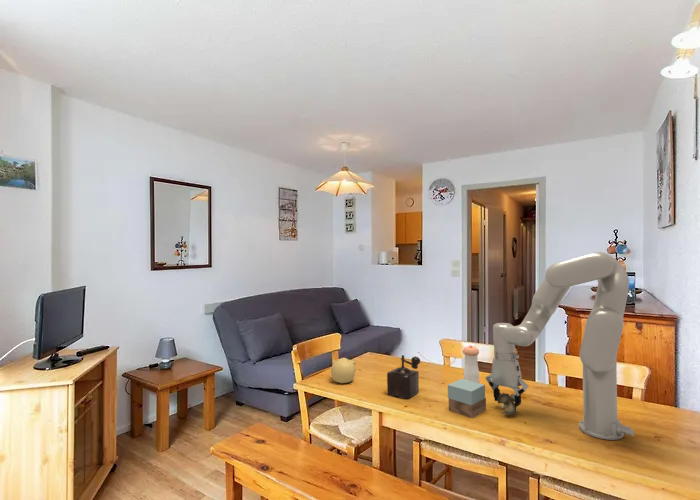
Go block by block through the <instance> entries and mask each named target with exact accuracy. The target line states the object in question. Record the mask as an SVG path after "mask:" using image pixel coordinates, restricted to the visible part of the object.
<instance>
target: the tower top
mask: <svg viewBox="0 0 700 500" xmlns="http://www.w3.org/2000/svg"><path fill="white" fill-rule="evenodd" d="M449 398H450V399H453V400H456V401H459V402H463V403H466V404H469V405H473V404H475V403H477V402H478V401H480V400H482V399H484V398H486V385H485V384H483V383H481V382H480V383H476V382H472V381H468V380H464V378H460V379H458V380H456V381H454V382H451V383H449V384H447V399H449Z"/></svg>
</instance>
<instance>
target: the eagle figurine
mask: <svg viewBox="0 0 700 500" xmlns="http://www.w3.org/2000/svg"><path fill="white" fill-rule="evenodd" d="M499 394H500V396H499V398H498V401H497V404H502V405H501V408H500V409H504V408H505V409H504V410H503V413H504V414H505V415H507V416H510V415H514V414H516V412H517V409H518V408H517V407H518V406H515V397H514V396H515V395H516V394H514V393H511V394H510V395H509V393H504V392H502V393H501V392H499Z"/></svg>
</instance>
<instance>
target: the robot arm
mask: <svg viewBox="0 0 700 500" xmlns="http://www.w3.org/2000/svg"><path fill="white" fill-rule="evenodd" d="M593 281H597V287H596V292H595V298H594V303H593V306H592V310H591V311H590V313H589V315H588V316H587V319H586V323H585V327H584V332H583V334H582V340H581V344H580V345H581V346H580V349H579V359H580V361H581V363H582V399H583V402H582V403H583V405H582V406H583V411H582V412H583V420H580V421H579V422H578V429H579V430H580V431H581V432H583V434H586V435H589V436H590V437H594V438H597V439H601V440H608V441H614V440H615V441H616V440H620V439H623V437H624V436H625V435H627V436H630V437H634V435H635V431H634V429H632V427H631V426H629V425H623V424H622V423H621V419H618V389H617V388H618V383H617V382H618V381H617V379H618V377H617V374H618V372H617V359H618V358H617V356H618V351H619V348H620V341H621V337H622V334H623V330H624V315H625V310H626V305H627V300H628V296H629V289H630V280H629V276H628V273H627V270H626V269H625V267H624V266H623V264H622V263H621V262H620V261H619V260H618V259H616V258H615V257H614V256H612V255H610V254H608V253H606V252H602V251H596V252H592V253H588V254H585V255H580V256H577V257H575V258H571V259H568V260H565V261H560V262H557V263H552V264H551V265H549V266H548V267H547V269H546V271H545V275H544V279H542V282H541V283H540V285H539V287H538V288H537V289H536V291H535V293H534V294H533V297H532V299H531V305H530V308H529V309H528V312H527V314H526V315H525V316H524V318H523V320H522V322H521V323H520V324H518V325H513V324H511V323H509V322H497V323H495V324H493V326H492V336H493V337H492V338H493V339H492V340H493V351H494V352H493V353H494V355H493V358H492V363H491V373H490V374H489V375H488V376H486V377H485V380H486V382H487V383H488V385H489V386H490V387H491V390H493V398H494V401H495V402H498V398H499V396H500V394H499V392H500V388H499V387H500V386H501V387H504V388H509V389H512V390H513V392H514V393H515V396H514V397H515V402H514V403H515V406H517V407H518V406H520V405H521V404H522V394H523V393H525V391H526V390H527V389H528V388H529V385H528V383H527V382H525V380H523V378H522V371H521V367H520V363H519V358H520V356H519V354H517V353H516V346H520V347H529V346H531V345H532V344H533V343H534V342H535V341H536V340H537V339H538V337H539V336H540V335H541V333H542V332H543V330H544V328H545V327H546V326H547V324H548V322H549V321H550V319H551V317H552V315H554V314H555V312H556V310H557V309H558V307H559V306H560V304H561V302H562V301H563V300H564V298H565V296H566V295H567V292H569V290H571V289H570V288H571V287H573V286H578V285H582V284H586V283H589V282H593ZM521 386H522V388H521ZM500 393H501V392H500Z"/></svg>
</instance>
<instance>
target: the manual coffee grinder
mask: <svg viewBox="0 0 700 500" xmlns="http://www.w3.org/2000/svg"><path fill="white" fill-rule="evenodd" d="M400 357H401V358H400V361H401V366H400V367H396V368H394V369H393V370H390V371H388V372H387V373H386V375H387V376H386V378H387V379H386V381H387V382H386V384H387V386H386V387H387V389H386V390H387V392H386V393H387V396H391V397H395V398H398V399H399V398H400V399H404V400H409V399H411V398H414V397H415V396H417V395H418V394H419V392H420V389H419V385H420V384H419V374H420V373H419V370H417V369H418V368H419V367H418V366H419V365H420V364H421V359H420V357H418V356H412V357H411V359H410V360H411V361H408V360H407V359H405V355H404V354H402V355H401V356H400ZM405 363H406V364H409V365H410V366H411V368H412V369H410V368H408V367H406V366H405Z"/></svg>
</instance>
